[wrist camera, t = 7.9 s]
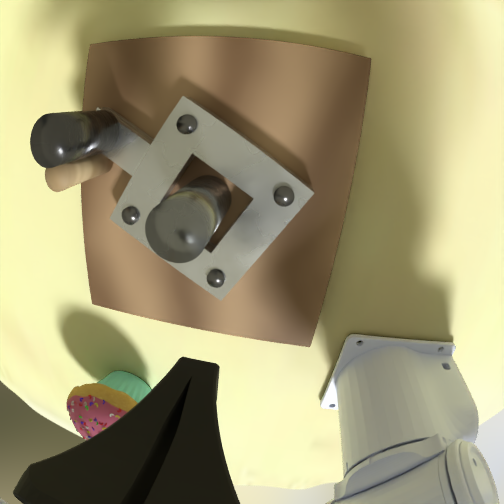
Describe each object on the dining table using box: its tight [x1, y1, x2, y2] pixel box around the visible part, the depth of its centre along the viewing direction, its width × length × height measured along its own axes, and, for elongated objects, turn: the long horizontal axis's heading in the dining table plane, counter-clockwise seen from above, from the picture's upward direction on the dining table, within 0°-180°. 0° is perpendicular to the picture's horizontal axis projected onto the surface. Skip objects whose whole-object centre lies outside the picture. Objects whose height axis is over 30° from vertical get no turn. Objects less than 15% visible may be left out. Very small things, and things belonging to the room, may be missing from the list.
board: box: [81, 36, 371, 347], centre depth 18 cm, size 16×18×1 cm
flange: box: [30, 96, 314, 301], centre depth 14 cm, size 12×8×6 cm, turn 53°
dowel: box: [45, 153, 113, 192], centre depth 15 cm, size 2×2×4 cm
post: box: [145, 175, 231, 263], centre depth 15 cm, size 3×3×6 cm
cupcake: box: [67, 371, 151, 440], centre depth 21 cm, size 9×8×12 cm
